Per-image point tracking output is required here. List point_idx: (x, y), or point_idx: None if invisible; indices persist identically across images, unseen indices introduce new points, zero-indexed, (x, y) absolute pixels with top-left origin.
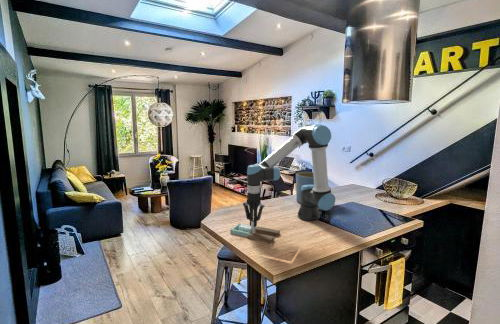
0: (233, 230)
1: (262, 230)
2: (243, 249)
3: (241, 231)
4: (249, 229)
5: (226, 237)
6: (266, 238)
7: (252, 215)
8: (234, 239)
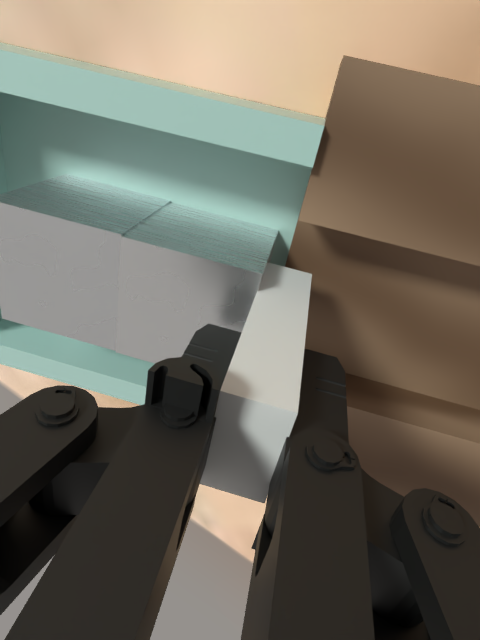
0: (5, 362)
1: (461, 257)
2: None
3: (118, 389)
4: None
5: (13, 374)
6: None
7: (155, 600)
8: (108, 405)
